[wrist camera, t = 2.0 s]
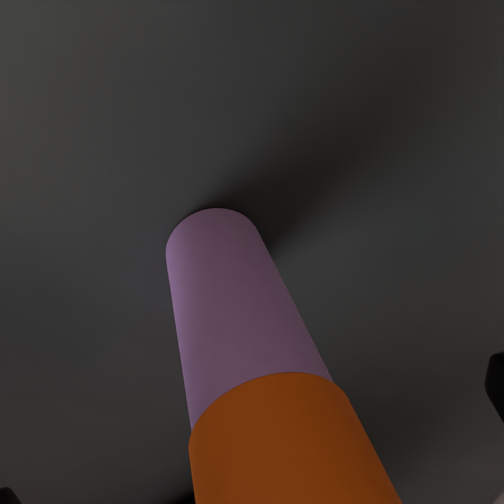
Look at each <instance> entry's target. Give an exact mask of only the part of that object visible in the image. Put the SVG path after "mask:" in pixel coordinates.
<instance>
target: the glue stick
mask: <svg viewBox="0 0 504 504" xmlns="http://www.w3.org/2000/svg"><path fill="white" fill-rule="evenodd" d="M166 262H167V269H168V276H169V282H170V289H171V296H172V303H173V309H174V316H175V323H176V330H177V336H178V343H179V350H180V357H181V363H182V370H183V377H184V384H185V390H186V397H187V404H188V411H189V417H190V424H191V431H192V433H191V437H190V440H189V458H190V465H191V472H192V480H193V487H194V494H195V502H196V504H402V502H401V500H400V498H399V496H398V494H397V492H396V490H395V488H394V486H393V485H392V483H391V481H390V479H389V477H388V475H387V473H386V471H385V469H384V467H383V465H382V463H381V461H380V459H379V457H378V455H377V453H376V452H375V450H374V448H373V446H372V444H371V442H370V440H369V438H368V436H367V434H366V432H365V430H364V428H363V426H362V424H361V422H360V421H359V419H358V417H357V415H356V413H355V411H354V409H353V407H352V405H351V403H350V401H349V399H348V397H347V396H346V394H345V393H344V392H343V390H341V389H340V388H339V387H338V386H337V385H336V384H334V382H333V380H332V378H331V376H330V374H329V372H328V370H327V368H326V366H325V364H324V362H323V360H322V358H321V356H320V354H319V352H318V350H317V348H316V346H315V344H314V342H313V340H312V338H311V336H310V334H309V332H308V330H307V328H306V326H305V324H304V322H303V320H302V318H301V316H300V314H299V312H298V310H297V308H296V306H295V304H294V302H293V300H292V298H291V296H290V294H289V292H288V290H287V288H286V286H285V284H284V282H283V280H282V278H281V276H280V274H279V272H278V270H277V268H276V266H275V264H274V262H273V260H272V258H271V256H270V254H269V252H268V250H267V248H266V246H265V244H264V242H263V240H262V238H261V236H260V234H259V232H258V230H257V228H256V227H255V225H254V224H253V223H252V222H251V221H250V220H249V219H248V218H247V217H245V216H244V215H242V214H241V213H238V212H236V211H233V210H229V209H223V208H212V209H206V210H202V211H199V212H196V213H194V214H192V215H190V216H188V217H187V218H185V219H184V220H183V221H182V222H180V223H179V225H178V226H177V227H176V228H175V229H174V231H173V232H172V234H171V235H170V237H169V240H168V242H167V246H166Z"/></svg>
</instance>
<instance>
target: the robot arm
mask: <svg viewBox="0 0 504 504" xmlns="http://www.w3.org/2000/svg"><path fill="white" fill-rule="evenodd" d="M485 389H486V392H487V395H488V397H489V399H490V400H491V402H492V404H493V405H494V407H495V409H496V411H497V412H498V414H499V416H500V417H501V419H502V421H503V423H504V351H503V352H499V353H496V354H493V355H492V356H491V357H490V359H489V364H488V369H487V374H486V379H485ZM0 504H21V502H20V501H19V499H18V498H17V496H16V495H15V493H14V492H13V490H12V489H11V488H8V487H4V488H0ZM185 504H196V502H195V497H194V498H192V499H191V500H189V501H188V502H186V503H185Z"/></svg>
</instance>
